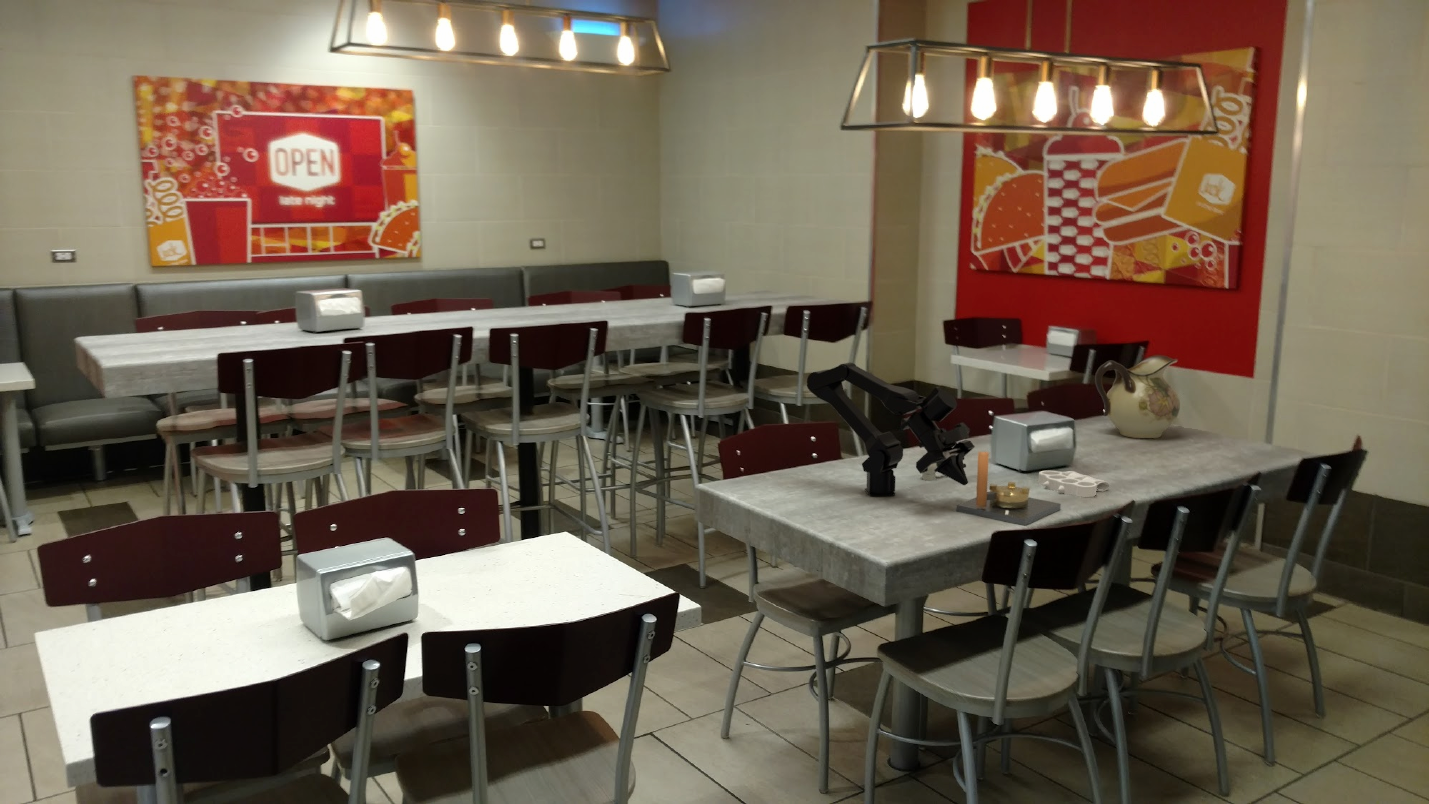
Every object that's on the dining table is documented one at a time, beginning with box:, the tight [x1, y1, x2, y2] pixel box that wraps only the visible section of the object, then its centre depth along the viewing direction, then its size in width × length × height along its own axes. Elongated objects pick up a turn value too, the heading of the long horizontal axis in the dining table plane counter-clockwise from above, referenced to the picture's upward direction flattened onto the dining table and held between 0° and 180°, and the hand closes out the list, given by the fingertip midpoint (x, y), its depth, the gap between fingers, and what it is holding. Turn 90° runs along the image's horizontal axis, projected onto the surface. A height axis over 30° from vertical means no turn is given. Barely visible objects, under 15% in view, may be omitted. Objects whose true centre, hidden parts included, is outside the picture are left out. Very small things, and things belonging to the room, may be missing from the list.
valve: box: [921, 454, 967, 482], centre depth 295 cm, size 7×7×12 cm
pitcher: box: [1094, 354, 1181, 439], centre depth 345 cm, size 22×24×25 cm
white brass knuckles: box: [1038, 470, 1110, 497], centre depth 284 cm, size 3×18×15 cm
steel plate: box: [956, 496, 1061, 527], centre depth 264 cm, size 18×18×2 cm
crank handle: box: [975, 451, 1030, 508], centre depth 261 cm, size 14×9×13 cm, turn 112°
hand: (966, 484), depth 262 cm, fingers closed
